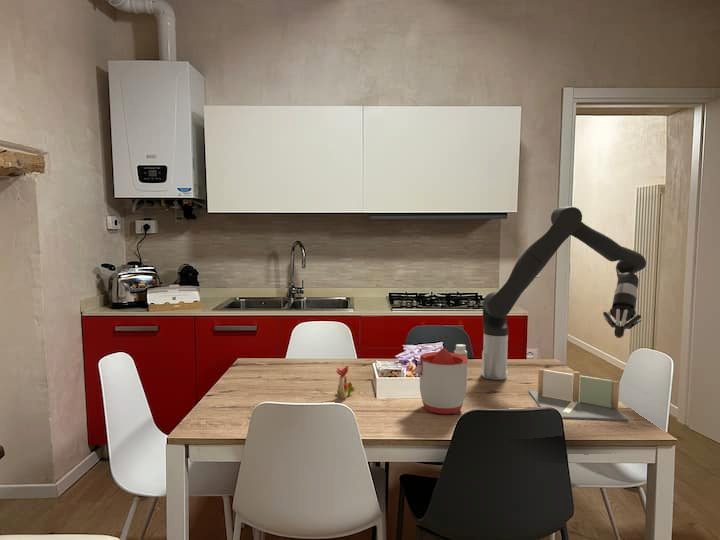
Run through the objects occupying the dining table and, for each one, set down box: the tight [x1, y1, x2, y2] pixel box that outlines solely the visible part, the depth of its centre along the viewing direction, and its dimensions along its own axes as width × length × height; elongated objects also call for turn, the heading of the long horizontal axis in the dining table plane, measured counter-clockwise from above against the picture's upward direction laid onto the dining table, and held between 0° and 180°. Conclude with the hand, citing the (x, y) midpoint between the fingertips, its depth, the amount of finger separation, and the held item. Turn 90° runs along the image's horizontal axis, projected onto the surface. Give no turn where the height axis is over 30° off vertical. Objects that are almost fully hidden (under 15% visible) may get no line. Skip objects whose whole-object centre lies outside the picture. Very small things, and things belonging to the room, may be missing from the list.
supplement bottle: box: [453, 343, 468, 358], centre depth 217 cm, size 5×5×10 cm
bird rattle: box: [336, 365, 356, 401], centre depth 179 cm, size 6×11×9 cm
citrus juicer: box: [413, 347, 469, 415], centre depth 168 cm, size 16×17×20 cm
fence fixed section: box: [537, 368, 581, 402], centre depth 178 cm, size 14×2×10 cm, turn 55°
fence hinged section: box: [579, 375, 620, 410], centre depth 171 cm, size 12×2×9 cm, turn 55°
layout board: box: [528, 390, 630, 422], centre depth 173 cm, size 24×25×1 cm
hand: (618, 336), depth 184 cm, fingers closed
